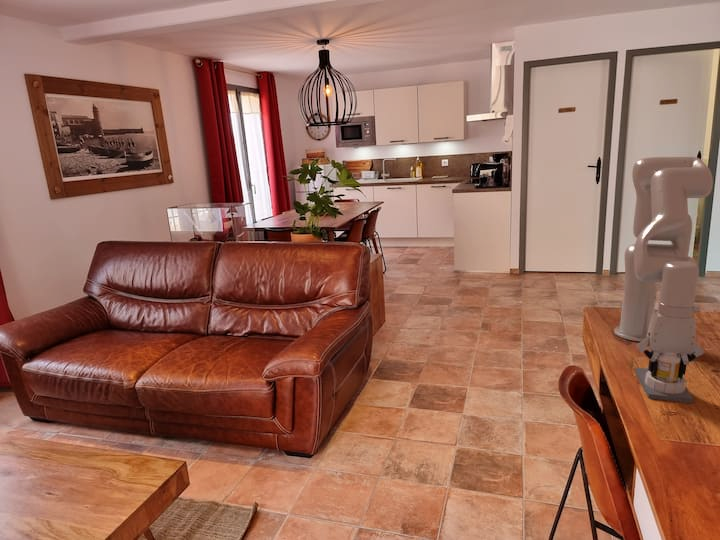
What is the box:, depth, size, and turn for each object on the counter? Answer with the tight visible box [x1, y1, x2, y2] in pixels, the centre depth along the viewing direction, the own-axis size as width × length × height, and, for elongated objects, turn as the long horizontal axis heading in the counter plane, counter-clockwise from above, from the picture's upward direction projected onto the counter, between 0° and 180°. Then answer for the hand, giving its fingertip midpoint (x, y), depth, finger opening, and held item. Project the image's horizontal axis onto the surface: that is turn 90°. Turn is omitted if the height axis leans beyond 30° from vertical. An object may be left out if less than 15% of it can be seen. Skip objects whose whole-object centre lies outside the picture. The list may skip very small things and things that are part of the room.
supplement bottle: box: [654, 352, 680, 383], centre depth 127 cm, size 5×5×10 cm
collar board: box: [634, 367, 695, 404], centre depth 130 cm, size 16×10×4 cm, turn 162°
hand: (665, 374), depth 128 cm, fingers closed on supplement bottle, 5 cm apart
